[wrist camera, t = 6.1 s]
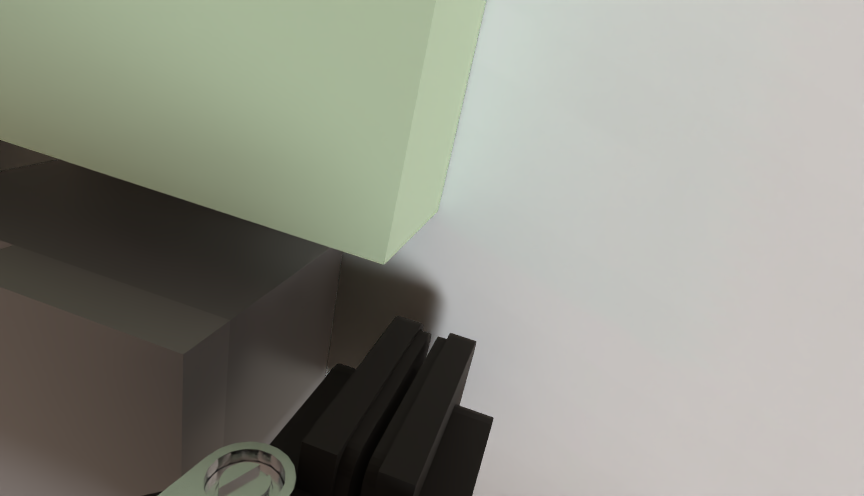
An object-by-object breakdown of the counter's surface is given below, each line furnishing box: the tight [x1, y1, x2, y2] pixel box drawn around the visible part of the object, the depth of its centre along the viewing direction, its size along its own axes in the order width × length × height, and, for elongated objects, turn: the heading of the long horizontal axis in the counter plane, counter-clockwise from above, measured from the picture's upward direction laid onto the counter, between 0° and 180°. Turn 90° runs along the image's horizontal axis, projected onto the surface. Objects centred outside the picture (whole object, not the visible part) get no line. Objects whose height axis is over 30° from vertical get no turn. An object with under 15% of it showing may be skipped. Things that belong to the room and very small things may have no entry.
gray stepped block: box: [0, 160, 343, 496], centre depth 11 cm, size 5×7×5 cm
